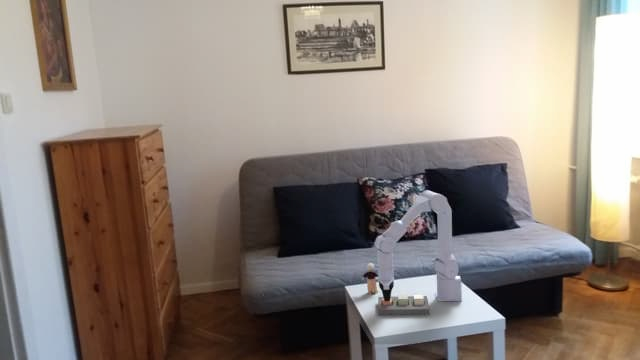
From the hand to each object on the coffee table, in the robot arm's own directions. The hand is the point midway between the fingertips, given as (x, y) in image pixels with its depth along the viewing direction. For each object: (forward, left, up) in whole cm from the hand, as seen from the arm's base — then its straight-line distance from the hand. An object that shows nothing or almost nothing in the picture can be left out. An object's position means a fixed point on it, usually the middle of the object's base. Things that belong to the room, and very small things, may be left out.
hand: (387, 300), depth 196 cm
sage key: (-6, 0, -2) cm, 6 cm away
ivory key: (-12, 0, -2) cm, 12 cm away
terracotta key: (0, 0, -3) cm, 3 cm away
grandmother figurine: (+6, -17, -4) cm, 19 cm away
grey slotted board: (-6, 0, -4) cm, 7 cm away
